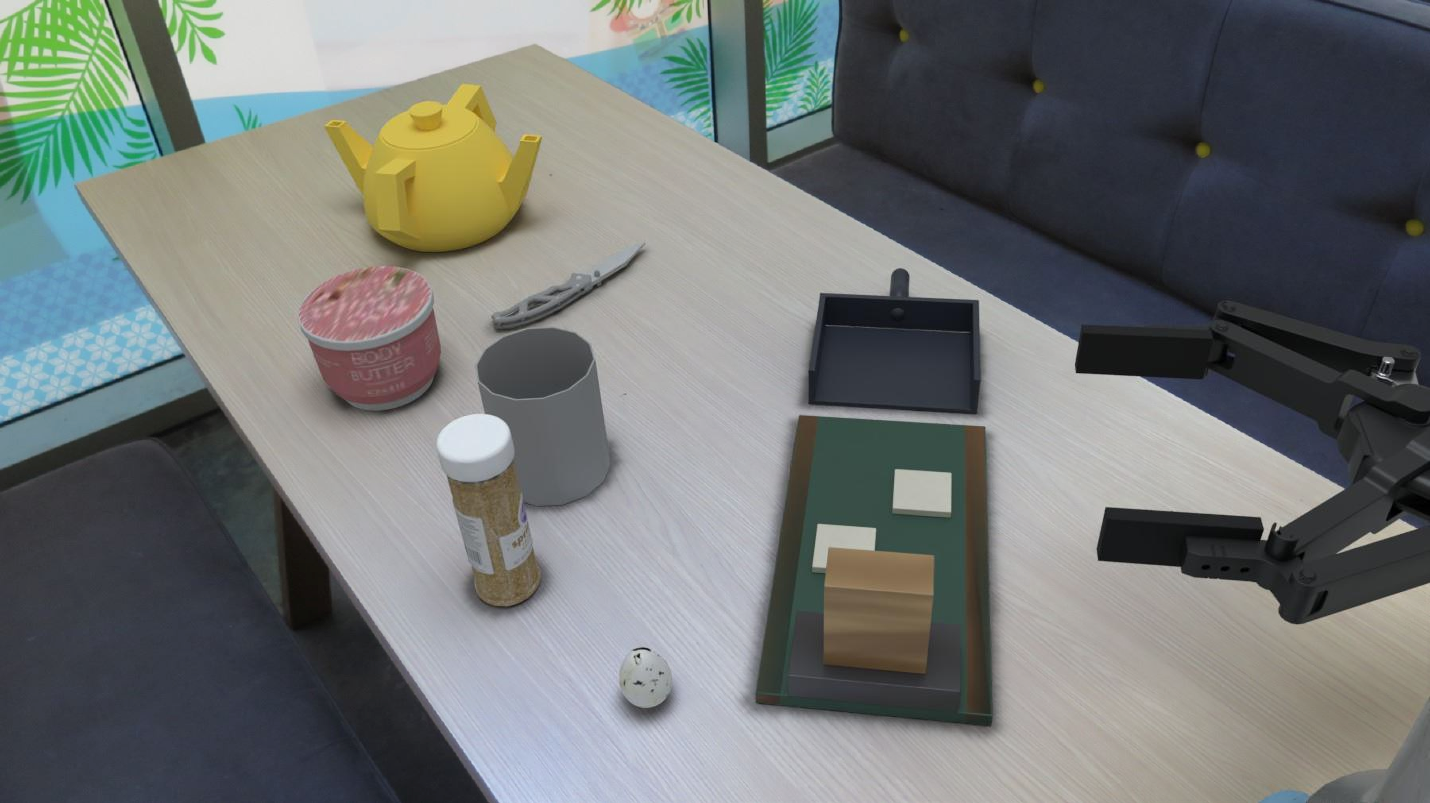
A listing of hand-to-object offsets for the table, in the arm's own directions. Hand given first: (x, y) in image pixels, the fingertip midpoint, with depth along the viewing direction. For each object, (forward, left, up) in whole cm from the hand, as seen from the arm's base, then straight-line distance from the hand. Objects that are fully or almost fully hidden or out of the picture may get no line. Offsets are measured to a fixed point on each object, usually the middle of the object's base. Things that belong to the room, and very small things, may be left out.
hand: (1088, 433), depth 59 cm
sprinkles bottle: (+22, +27, -21) cm, 41 cm away
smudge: (+17, -1, -20) cm, 26 cm away
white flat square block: (+14, +6, -20) cm, 25 cm away
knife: (+54, +13, -21) cm, 59 cm away
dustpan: (+34, -9, -21) cm, 41 cm away
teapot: (+72, +21, -21) cm, 78 cm away
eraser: (+5, +8, -20) cm, 22 cm away
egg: (+9, +22, -21) cm, 32 cm away
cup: (+32, +21, -21) cm, 44 cm away
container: (+48, +31, -21) cm, 61 cm away
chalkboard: (+14, +3, -21) cm, 25 cm away
